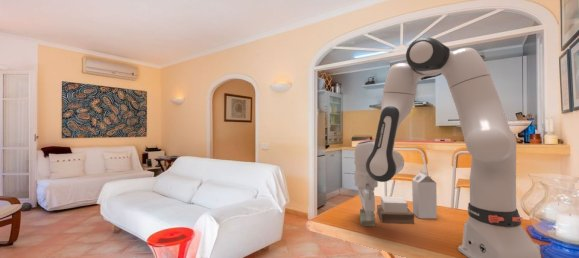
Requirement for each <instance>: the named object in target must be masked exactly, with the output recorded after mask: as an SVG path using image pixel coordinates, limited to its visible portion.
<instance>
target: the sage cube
mask: <svg viewBox="0 0 579 258" xmlns="http://www.w3.org/2000/svg"><path fill="white" fill-rule="evenodd" d="M375 214H376V213H375V211H374V212H372V213H371V220H370V221H367V220H366V218H365V215H366V212H365V210H364V209H359V222H360V225H361V226H362V227H375V226H376V221H375V219H376V217H375Z"/></svg>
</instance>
